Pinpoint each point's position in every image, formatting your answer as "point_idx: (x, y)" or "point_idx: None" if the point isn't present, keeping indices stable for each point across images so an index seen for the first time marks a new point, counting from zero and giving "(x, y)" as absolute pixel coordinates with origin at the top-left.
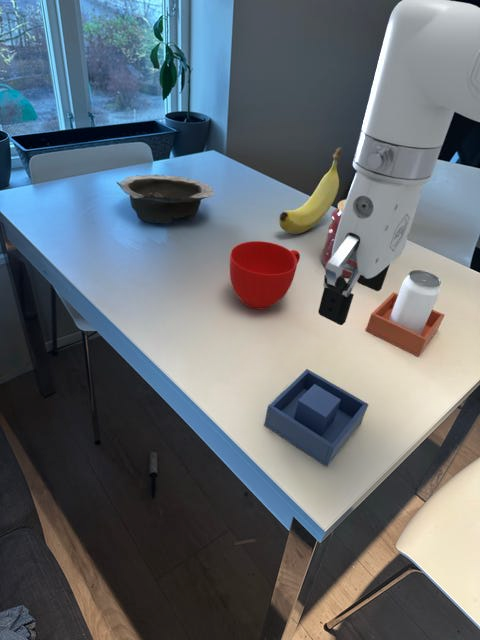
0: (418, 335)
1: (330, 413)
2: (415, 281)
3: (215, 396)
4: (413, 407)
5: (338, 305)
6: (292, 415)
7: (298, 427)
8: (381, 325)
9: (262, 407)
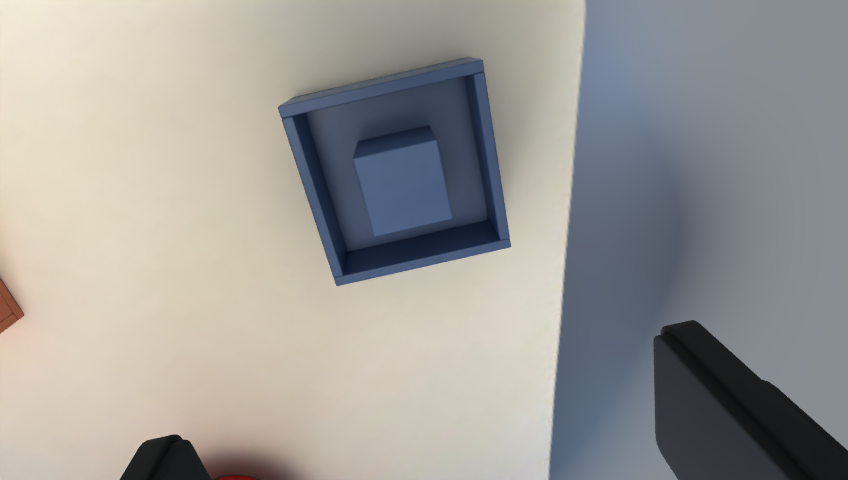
0: None
1: (407, 143)
2: None
3: (522, 328)
4: (107, 42)
5: (845, 455)
6: None
7: (497, 162)
8: None
9: (463, 259)
